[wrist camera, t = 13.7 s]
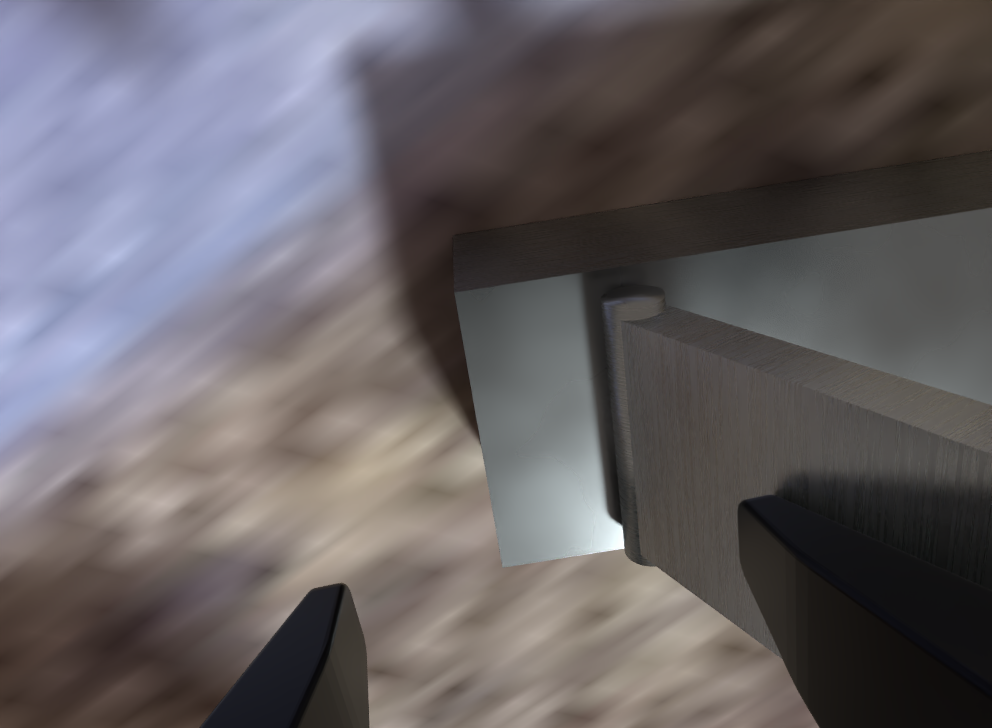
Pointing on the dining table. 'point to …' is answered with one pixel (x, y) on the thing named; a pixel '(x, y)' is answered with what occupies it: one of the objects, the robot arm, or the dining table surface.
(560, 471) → the hitch bar
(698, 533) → the keeper flap
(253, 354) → the dining table surface
